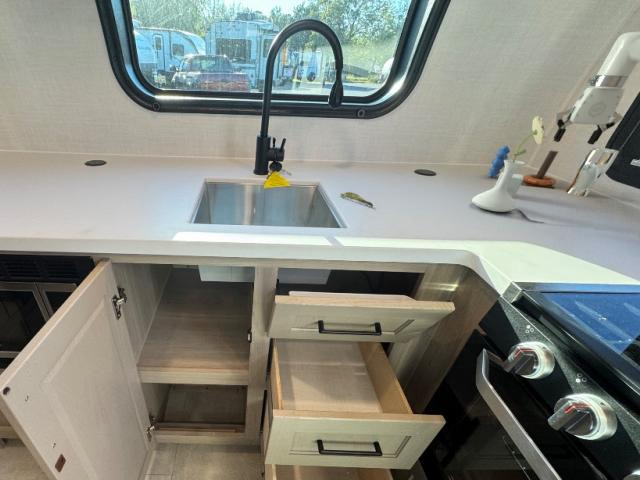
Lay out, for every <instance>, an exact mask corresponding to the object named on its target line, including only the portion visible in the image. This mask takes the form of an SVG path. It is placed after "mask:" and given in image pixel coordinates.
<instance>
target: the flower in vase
mask: <svg viewBox="0 0 640 480" xmlns="http://www.w3.org/2000/svg"><path fill="white" fill-rule="evenodd" d="M531 130H532V132H531V133H530V134H529V135H528V136H526V138H525V139H523V141H522V142H521V143H520V144H519V145H518V146H517V147H516V152H515V153H514V154H513V157H514V158H513V159H510V160H504V163H505V167H504V169H503V172H504V173H503V175H502V178H501V180H500V182H499V183H498V185H497V186H496V187H495V186H494V187H493V188H491V189H488V190H485V191H483V192H480V193H479V194H477V195H475V196H473V197H472V199H471V201H472V204H473V205H475V206H476V207H478V208H480V209H483V210H487V211H491V212H496V213H497V212H498V213H505V212H512V211H514V210H515V209H516V207H517V206H516V205H517V204H516V202H515V200H514V198H512V197H511V196H510V194H509V193H508V191H507V186H508V183H509V181H510V179H511V177H512V176H513V174H516V172H517V171H518V170H519V169H520V168H521V167H522V166H524V165H526V162H525V161H522V160H517V157H518V156H521V155H525V154H526V153H527V150H526V149H523V150H521V151H519V150H520V148H521V147H522V145H523V144H524V143H525V142H526V141H527V140H528V139H529V138H531V136H533V138H534V141H535V143H536V144H537V146H539V147H541V146H542V145H544V143H545V142H544V140H547V139H546V138H547V137H546V134H545V130H546V125H545V124H544V122H543V117H540V116H539V115H536V116H535V117H534V118H533V119H532V128H531Z"/></svg>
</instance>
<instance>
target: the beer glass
mask: <svg viewBox="0 0 640 480" xmlns="http://www.w3.org/2000/svg"><path fill="white" fill-rule="evenodd" d="M619 153H620V151H619V150H616V149H611V148H605V147H591V149H590V150H589V151H588V153H587V154H586V156H585V157H584V158H583V160H582V162H581V163H580V165H579V166H578V169H577V171H576V174H575V176H574V179H573V181H572V183H571V185H569V187H568V188H567V189H566V190H565V193H567V194H569V195H573V196H578V197H588V196H589V194H590V191H591V189H592V188H593V187H594V186H595V184H596V183H597V182H598V181H599V180H600V179H601V178H602V177H603V176H604V175H605V174H606V172H607V171H608V170H609V168H610V167H611V166H612V164H613V163H614V161H615V159H616V158H617V156H618V154H619Z"/></svg>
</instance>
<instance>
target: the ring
mask: <svg viewBox="0 0 640 480" xmlns="http://www.w3.org/2000/svg"><path fill="white" fill-rule="evenodd" d="M536 175H537V174H526V175H524V176H523V180H524V181H525V182H527V183H530V184H535V185H541V186H554V185H556V184H557V183H558V182H557V179H555V178H554V177H551V176H548V175H545V176H544V178H543V179H542V180H541V179H536V178H535V176H536Z"/></svg>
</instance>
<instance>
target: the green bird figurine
mask: <svg viewBox="0 0 640 480" xmlns="http://www.w3.org/2000/svg"><path fill="white" fill-rule="evenodd" d="M339 195H340V197H345V198H347V199H349V200H355V201H357V202H360V203H362V204H365V205H367V206H368V205H369V206H370V207H371V208H372V209H373V207H374V205H373V203H372V202H371V201H368V200H365V199H364V198H363V197H362V196H361V195H360V194H358V193H355V192H351V191H348V192H344V193H343V192H341V193H339Z"/></svg>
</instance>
